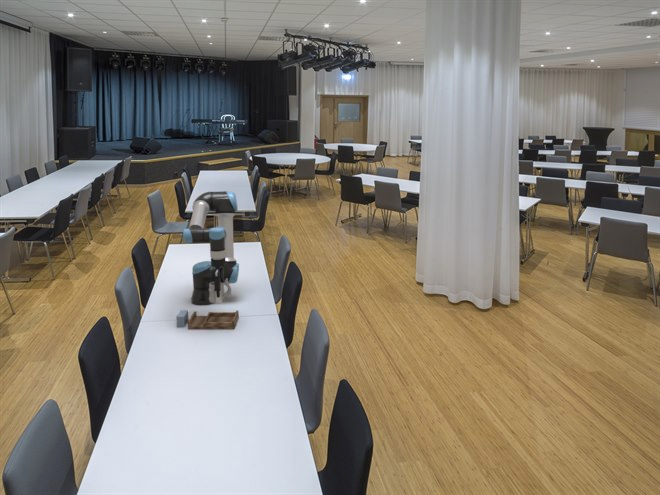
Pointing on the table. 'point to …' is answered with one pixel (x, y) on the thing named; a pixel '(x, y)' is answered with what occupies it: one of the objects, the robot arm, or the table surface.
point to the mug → (213, 293)
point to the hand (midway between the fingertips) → (220, 299)
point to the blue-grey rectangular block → (182, 318)
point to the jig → (214, 320)
